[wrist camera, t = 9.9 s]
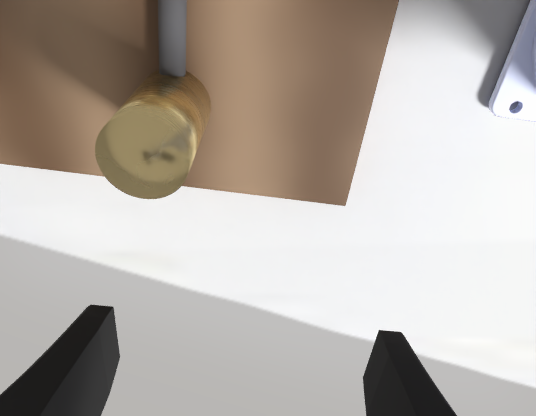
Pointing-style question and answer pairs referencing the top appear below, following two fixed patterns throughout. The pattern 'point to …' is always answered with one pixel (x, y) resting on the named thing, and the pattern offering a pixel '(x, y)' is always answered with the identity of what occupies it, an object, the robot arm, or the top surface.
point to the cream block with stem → (157, 119)
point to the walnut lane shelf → (211, 76)
